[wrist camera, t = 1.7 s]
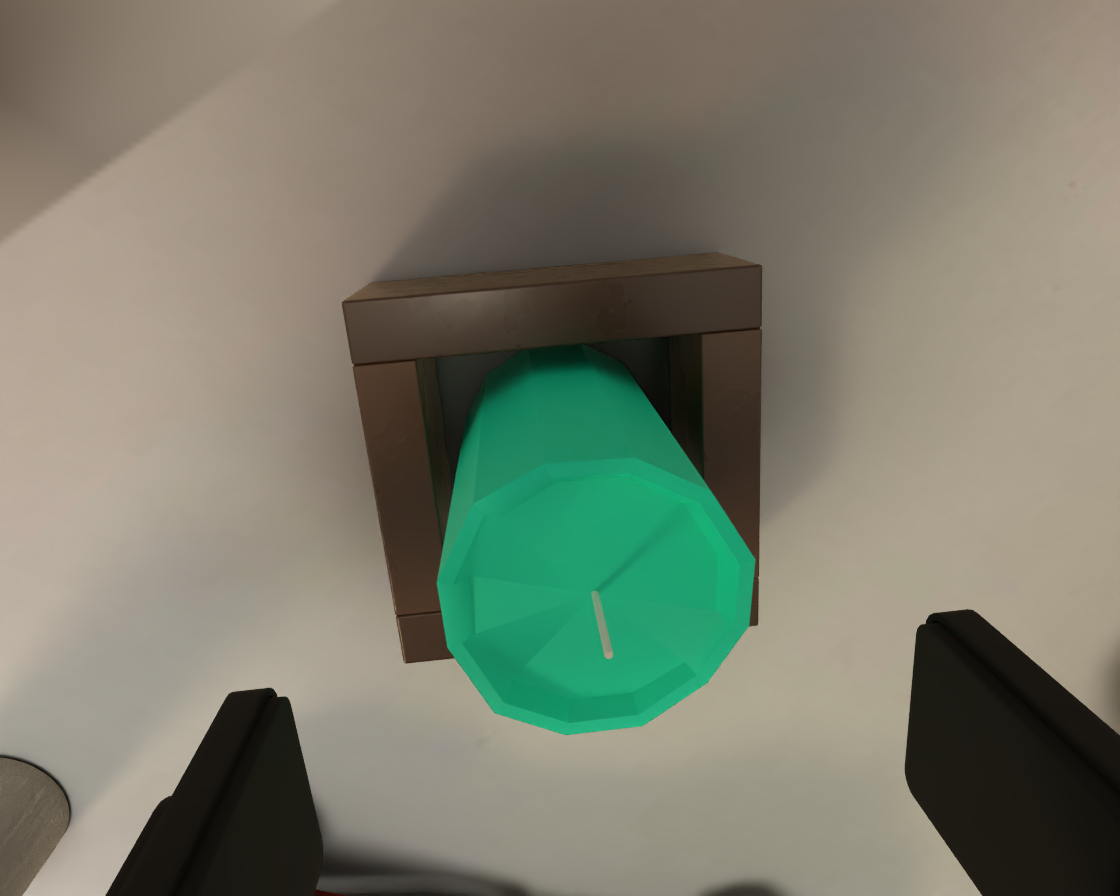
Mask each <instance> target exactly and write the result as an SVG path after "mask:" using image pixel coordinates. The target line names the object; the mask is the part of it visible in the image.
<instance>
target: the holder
mask: <svg viewBox="0 0 1120 896" xmlns="http://www.w3.org/2000/svg"><path fill="white" fill-rule="evenodd" d="M342 308H343V314H344V320H345V326H346V331H347V337H348V343H349V349H350V354H351V360H352V363H353V364H354V366H353V372H354V378H355V384H356V390H357V396H358V401H359V407H360V413H361V419H362V424H363V430H364V436H365V442H366V447H367V453H368V459H369V465H370V471H371V476H372V482H373V488H374V494H375V499H376V505H377V511H378V517H379V523H380V528H381V534H382V540H383V546H384V551H385V557H386V563H387V569H388V575H389V580H390V586H391V592H392V598H393V603H394V609H395V614H396V615H397V616H396V620H397V626H398V632H399V637H400V643H401V649H402V655H403V660H404V662H405V663H415V662H424V661H433V660H442V659H452V658H454V656H453V655H452V653H451V652H450V651H449V649H448V648H447V642H446V636H445V630H444V624H443V618H442V612H441V606H440V600H439V594H438V587H437V578H438V573H439V567H440V562H441V556H442V550H443V545H444V539H445V533H446V528H447V522H448V516H449V511H450V505H451V499H452V494H453V491H452V484H451V476H450V469H449V462H448V454H447V447H446V440H445V432H444V425H443V417H442V410H441V403H440V395H439V388H438V381H437V373H436V366H435V358H438V357H449V356H460V355H471V354H482V353H493V352H504V351H515V350H526V349H537V348H548V347H559V346H570V345H581V344H592V343H603V342H614V341H625V340H636V339H647V338H658V337H669V347H670V380H671V414H672V435H673V436H674V438H675V439H676V441H677V442H678V444H679V445H680V447H681V448H682V450H683V451H684V452H685V454H686V455H687V457H688V458H689V460H690V461H691V463H692V464H693V466H694V467H695V468H696V470H697V471H698V473H699V474H700V476H701V477H702V479H703V480H704V482H705V483H706V484H707V486H708V487H709V489H710V490H711V492H712V493H713V495H714V496H715V498H716V499H717V501H718V503H719V504H720V506H721V507H722V509H723V510H724V512H725V513H726V515H727V516H728V518H729V519H730V521H731V523H732V524H733V526H734V527H735V529H736V530H737V532H738V533H739V535H740V536H741V538H742V539H743V541H744V543H745V544H746V546H747V547H748V549H749V550H750V552H751V553H752V555H753V556H754V558H755V570H754V580H753V591H752V602H751V613H750V623H749V626H757V625H758V593H759V579H758V577H759V524H760V438H761V352H762V330H761V329H760V327H761V325H762V265H760V264H756V263H753V262H749V261H746V260H742V259H738V258H735V257H731V256H728V255H724V254H721V253H707V254H696V255H684V256H673V257H661V258H649V259H638V260H626V261H615V262H603V263H592V264H580V265H569V266H557V267H546V268H534V269H523V270H511V271H500V272H488V273H476V274H465V275H453V276H442V277H430V278H419V279H407V280H396V281H384V282H373V283H370V284H368V285H367V286H365V287H364V288H362V289H361V290H359V291H358V292H356V293H355V294H353V295H352V296H350V297H349V298H347V299H346V300H344V301H343V302H342ZM749 626H748V627H749Z"/></svg>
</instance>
